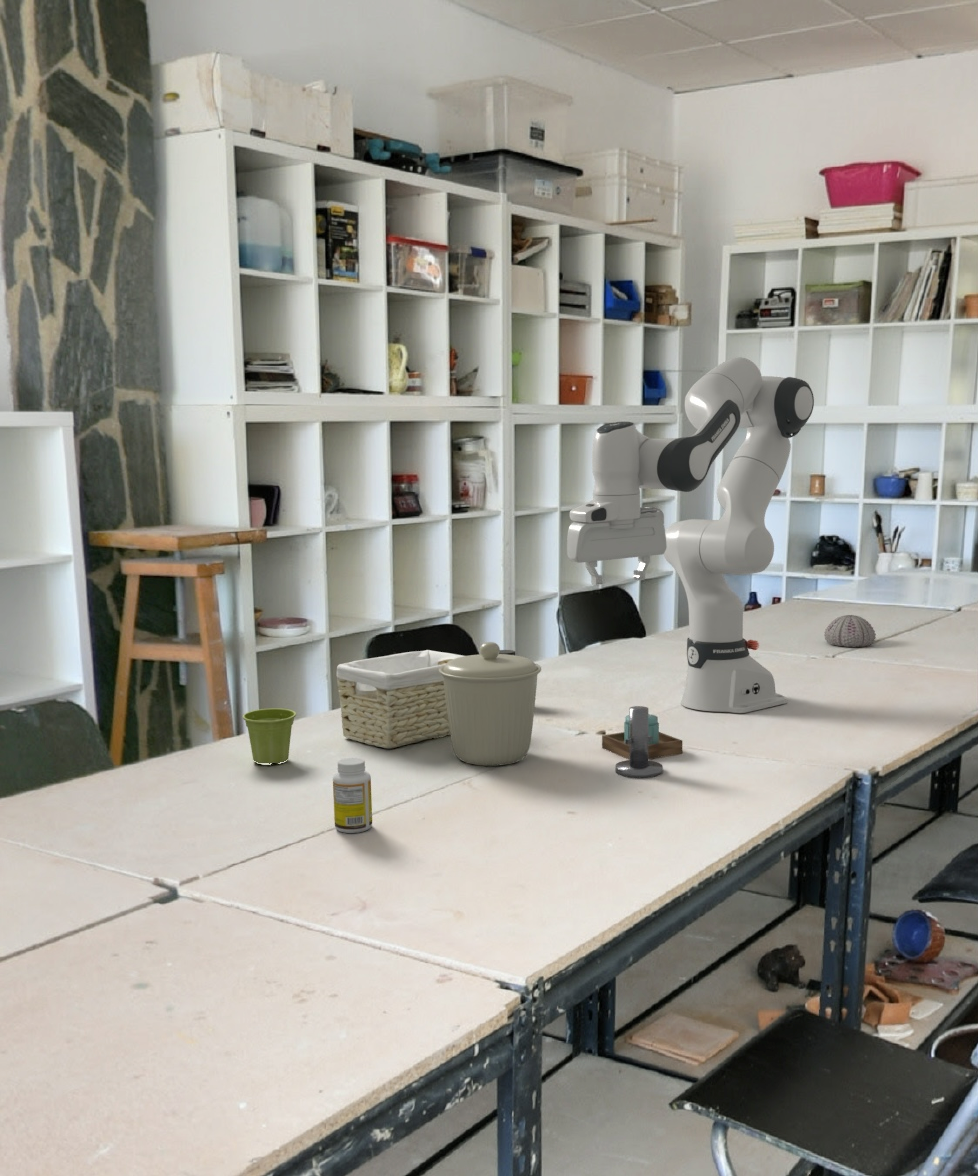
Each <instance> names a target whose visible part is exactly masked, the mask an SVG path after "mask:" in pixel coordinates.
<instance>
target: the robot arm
mask: <svg viewBox="0 0 978 1176" xmlns="http://www.w3.org/2000/svg"><path fill="white" fill-rule="evenodd" d="M814 404H815V398H814V393H813V390H812V388H811V386H810V385H809V382H807V381H805V380H803V379H800V378H797V377H792V376H787V377H781V376H771V375H769V376H768V375H762V373H761V371H760V369H759V367H758V365H756V363H754V362H753V361H752V360H750V359H748V358H745V357H742V356H741V357H740V356H738V357H737V356H736V357H732V358H730V359H728V360H725V361H723V362H722V363H720V364H718V365H717V366H715V367H713V368H712V369H711V370H709V371H708V372H707V373H705V374H704V375H702V377H701V378H699V379H698V380H697V381H696V382H695V383H694V384H693V385H692V386H691V387H690V389H689V390H688V391H687V393H686V395H685V397H684V410H685V411H684V412H685V415H686V416H687V419H688V421H689V422H690V424H691V425H692V426H693V427H694V429H696V431H695V433H693V434H692V435H689V436H684V437H675V438H674V437H673V438H672V437H671V438H670V437H669V438H668V437H667V438H664V437H663V438H655V437H653V438H652V437H651V438H650V437H649V436H647V435H645V434H643V433H641V432H640V431H639V430H638V429H637V427H636V424H635V423H634V422H631V421H617V422H610V423H606V424H603V425H601V426H599V427H598V428H596V431H595V432H594V435H593V442H592V453H591V454H592V455H591V458H592V459H591V464H592V467H591V469H592V474H593V478H594V486H593V487H594V488H593V490H592V491H593V492H592V500H589V501H587V502H585V503H584V504H581V505H579V506H577V507H574V508H573V509H571V510H570V511H569V518H570V520H571V521H573V522H572V523H570V525H569V526H568V530H567V540H566V554H567V558H568V559H569V561H571V562H574V563H579V564H580V563H585V568H586V570H587V571H588V574H589V575H590V578H591V579H590V582H591V585H593V586H600V585H603V583H604V580H603V579H604V578H603V577H604V576H603V575H602V574H599V573H598V571H597V569H596V568H598V562H601V561H610V560H620V559H630V558H637V561H638V562H639V564H638V567H637V569H636V570H633V580H635V581H644V580H645V579H646V570H647V569H648V567H649V564H651V556H659V555H661V556H662V555H663V557H664V558H665V560H666V561H667V563H669V565H671V567H672V568H673V569H674V570H675V572H676V573H677V574H678V576H679V579H680V581H681V583H682V586H683V588H684V591H685V594H686V598H687V604H688V605H687V606H688V634H689V635H688V637H687V639H686V657H687V671H686V672H687V673H686V680H685V681H686V682H685V686H684V691H683V694H682V698H681V701H680V704H681V706H684V707H685V708H688V709H692V710H696V711H697V710H698V711H704V712H717V713H718V712H721V713H722V712H723V713H735V714H744V713H745V714H746V713H750V712H755V711H759V710H762V709H767V708H771V707H775V706H779V705H783V704H784V705H785V704H787V703H788V702H787V701H788V700H787V697H785V696H784V695H783V694H780V693H777V692H776V683H775V679H774V676H773V673H771V671H770V670H768V669H767V668H766V667H764V666H763V665H762V664H761V663H760V662H758V661H757V660H756V659H755V658H753V657H752V656H751V654H750V651H749V650H752V651H757V650H758V649H759V648H760V642H758V640H753V639H748V640H746V639H745V638H744V635H743V632H744V631H743V630H744V627H743V626H744V625H743V624H744V617H743V616H744V615H743V614H744V606H743V602H742V600H741V598H740V597H739V596H738V595H737V593H735V592H733V591H732V590H731V588H730V587H729V585H728V583H727V581H726V579H725V576H724V574H725V575H734V576H744V575H752V574H758V573H762V572H764V571H765V570H766V569H767V568H768V567H769V566H770V564H771V562H772V561H773V557H774V554H775V553H774V552H775V543H774V538H773V536H772V534H771V532H770V531H769V530H768V529H767V527H766V524H765V523H766V522H765V518H766V512H767V510H768V507H769V504H770V503H771V500H772V498H773V496H774V494H775V491H776V490H777V488H778V485H779V483H780V482H781V479H782V478H783V475H784V473H785V470H786V467H787V464H788V461H789V457H790V453H791V449H792V446H791V445H792V444H791V441H790V438H793V437H796V436H797V435H798V433H800V431H801V430H802V428H803V427H804V426H805V425H806V423H807V422H808V421H809V420H810V417H811V416H812V413H813V410H814ZM738 428H741V429H746V437H745V439H744V441H743V442H742V443H741V445H740V446H739V448H738V449H737V451H736V452H735V454H734V456H733V458H732V459H731V461H730V463H729V465H728V466H727V468H726V470H725V473H724V474H723V476H722V478H721V480H720V482H719V484H718V486H717V488H716V496H717V501H718V503H719V505H720V506H721V508H722V509H723V510H724V512H723V515H722V516H721V518H719V519H702V518H701V519H700V518H699V519H698V518H690V519H685V520H680V521H675V522H673V523H671V524H669V526H668V527H667V529H665V525H664V524H665V514H664V512H663V510H661V508H658V506H649V507H646V506H645V507H643V506H642V507H641V489H647V490H648V489H649V490H650V489H651V490H671V491H677V492H684V493H689V492H692V491H694V490H696V489H697V488H698V487H700V485H701V484H702V483H703V482H704V481H705V479H706V477H707V475H708V473H709V471H710V468H711V466H712V465H713V462H714V461H715V460H716V458H717V457H718V456H719V455H720V453H721V452H722V451H723V449H724V448H725V447H726V445H727V444H728V443H729V442H730V440H731V439H732V438H733V437H734V435H735V433H736V432H737V430H738Z"/></svg>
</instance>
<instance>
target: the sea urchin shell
mask: <svg viewBox="0 0 978 1176" xmlns="http://www.w3.org/2000/svg"><path fill="white" fill-rule="evenodd" d="M875 632H876V630H874V627H873V626H872V624H871V623H870V622H869V621H868V620H866V619H865V618H863V617H861V616H859V615H854V614H846V615H841V616H837V618H835V619H833V620H832V621H831V622H830V623H829V624H828V625H827V627H826V628H825V631H824V635H823V637H824V640H825V641H826V643H828V644H829V645H832V646H836V647H845V648H858V647H859V648H863V647H867V646H868V647H869V646H871V645H872V644H873V643H874V642H875V640H876V635H877V634H876V633H875Z"/></svg>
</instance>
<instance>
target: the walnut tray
mask: <svg viewBox="0 0 978 1176" xmlns="http://www.w3.org/2000/svg"><path fill="white" fill-rule="evenodd" d="M601 749H603V750H605V749H606V751H608V752H610V751H611V753H612V754H616V755H618V756H620V757H623V758H624V759H627V758H628V759H627V760H629V745H627V744H626V743H624V731H623V732H617V733H608V734H602V736H601ZM681 754H683V740H682V739H680V738H677V737H674V736H671V735H669V734H666V733H663V732H661V731H659V743H656V744H650V745H648V760H650V759H651V758H652V759H657V758H663V757H664V758H665V757H669V756H676V755H681Z"/></svg>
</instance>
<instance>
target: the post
mask: <svg viewBox="0 0 978 1176" xmlns="http://www.w3.org/2000/svg"><path fill="white" fill-rule="evenodd" d="M628 710H629V711H628V712H629V713H628V714H629V739H626V744H627V745H629V759H626V760H621V761H619V762H616V764H615V767H614V768H615V769H614V771H615V773H616V774H617V775H618V776H620V777H625V778H628V779H629V778H632V779H649V778H657V777H659V776H661V775H662V774H663V771H664V767H663V765H662V763H660V762H657V761H655V760H654V761H653V760H650V759H648V741H652V736H648V714H649V707H648V706H644V705H643V706H642V705H640V706H639V705H636V706H635V705H634V706H630V707H629V708H628Z"/></svg>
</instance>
